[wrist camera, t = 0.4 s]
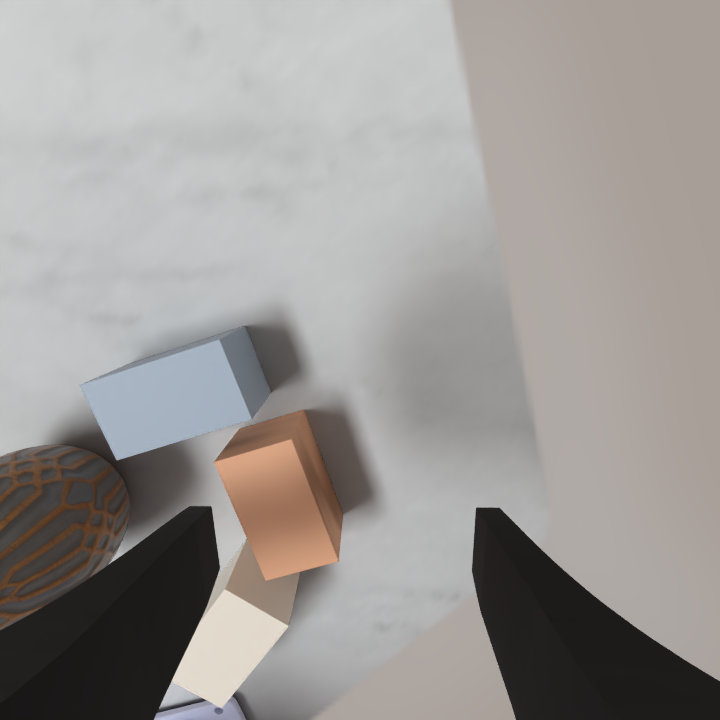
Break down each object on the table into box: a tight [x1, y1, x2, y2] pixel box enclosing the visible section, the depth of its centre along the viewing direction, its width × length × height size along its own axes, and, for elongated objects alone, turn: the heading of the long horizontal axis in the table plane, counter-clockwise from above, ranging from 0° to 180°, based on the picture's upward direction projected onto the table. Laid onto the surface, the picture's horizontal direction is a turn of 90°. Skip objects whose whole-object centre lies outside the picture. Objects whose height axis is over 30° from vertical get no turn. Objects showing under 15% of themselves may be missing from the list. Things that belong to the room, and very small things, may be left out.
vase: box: [0, 445, 130, 630], centre depth 17 cm, size 7×7×9 cm
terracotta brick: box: [214, 410, 343, 581], centre depth 19 cm, size 6×3×4 cm, turn 18°
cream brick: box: [172, 539, 300, 708], centre depth 21 cm, size 6×3×4 cm, turn 145°
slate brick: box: [79, 326, 271, 460], centre depth 18 cm, size 6×3×4 cm, turn 108°
